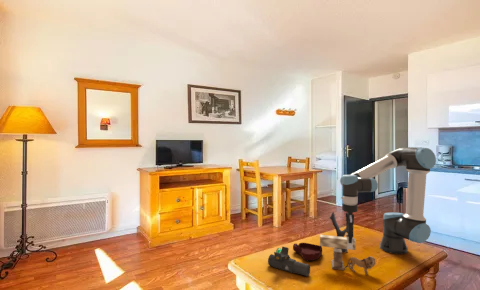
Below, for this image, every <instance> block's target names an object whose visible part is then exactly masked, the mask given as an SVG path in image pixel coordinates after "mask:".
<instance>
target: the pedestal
mask: <svg viewBox="0 0 480 290" xmlns="http://www.w3.org/2000/svg"><path fill="white" fill-rule="evenodd" d="M331 269H332V270H339V271H345V265H344V261H343V253H342V250H341V249H337V248H333V259H331Z"/></svg>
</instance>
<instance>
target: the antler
mask: <svg viewBox="0 0 480 290" xmlns="http://www.w3.org/2000/svg"><path fill="white" fill-rule="evenodd" d="M329 219H330V221H331V222H332V225H333V227H334V229H335V232H336V236H339V237H346V233H347V232H346V228H345V229H343V230H341V228H340V226H339V224H338V222H337V219H336V215H335V212H334V211H332V212H331V215H330V216H329ZM337 249H341V248H337ZM341 250H342V254H344V253H347V252H348V249H341Z"/></svg>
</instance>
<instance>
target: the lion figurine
mask: <svg viewBox="0 0 480 290" xmlns="http://www.w3.org/2000/svg"><path fill="white" fill-rule="evenodd" d="M355 265H356V266H357V267H359V268H363V269H364V271H363V272H364V274H365V275H366V276H369V275H368V270H369V269H370V270H371V269H372V268H373V267H375V265H376V258H375V257H374V256H371V255H370V256H367V257H366V258H363V259H360V258H357V257H355V256H354V257H353V256H352V257H350V258H349V259H348V261H347V264H346V266H344V269H345V268H346V269H347V268H349V269H351V270H352V272H353V273H355V272H356V270H355V269H354V267H355Z"/></svg>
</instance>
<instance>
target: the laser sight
mask: <svg viewBox="0 0 480 290" xmlns="http://www.w3.org/2000/svg"><path fill="white" fill-rule="evenodd" d="M289 249H290V248H289V247H287V246H281V252H280V253H277V252H276V251H274V252H273V253H274V254H272V253H271V254H269V256H268V258H267V265H268V266H269V267H270V266H271V267H272V268H275V269H278V270H281V271H285V272H287V273H291V274H293V273H294V274H298V275H302V276H305V277H309V276H310V274H311V265H310V264H308V263H303V262H300V261H297V260H296V259H294V258H291V257H290V255H289ZM289 257H290V258H289Z"/></svg>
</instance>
